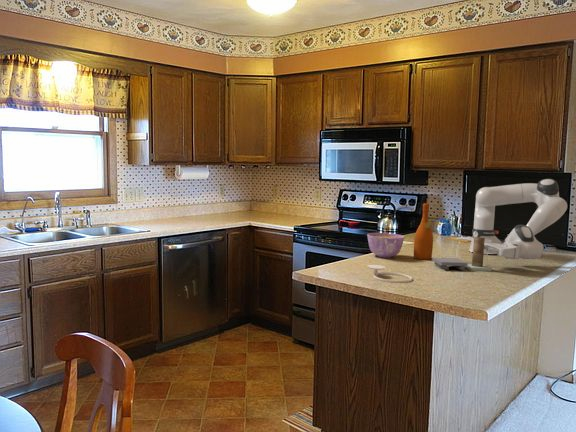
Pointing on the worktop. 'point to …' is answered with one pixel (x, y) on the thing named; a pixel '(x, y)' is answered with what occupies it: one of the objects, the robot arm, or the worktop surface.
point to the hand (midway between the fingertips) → (482, 248)
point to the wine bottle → (423, 237)
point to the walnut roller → (478, 251)
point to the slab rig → (450, 263)
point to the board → (478, 268)
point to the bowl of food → (385, 244)
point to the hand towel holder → (379, 267)
